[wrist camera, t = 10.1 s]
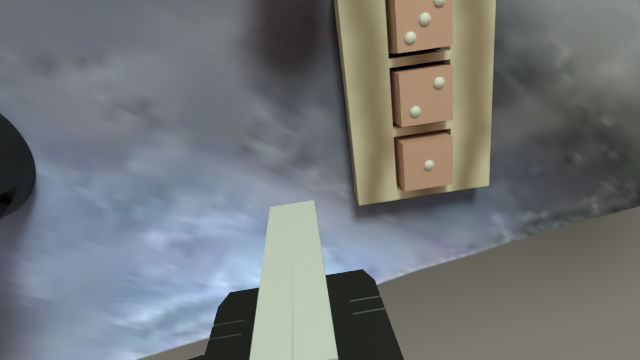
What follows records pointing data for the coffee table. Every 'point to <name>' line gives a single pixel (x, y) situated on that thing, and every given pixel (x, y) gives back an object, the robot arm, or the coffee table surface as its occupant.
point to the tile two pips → (422, 94)
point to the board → (375, 96)
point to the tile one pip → (424, 160)
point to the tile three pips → (418, 24)
